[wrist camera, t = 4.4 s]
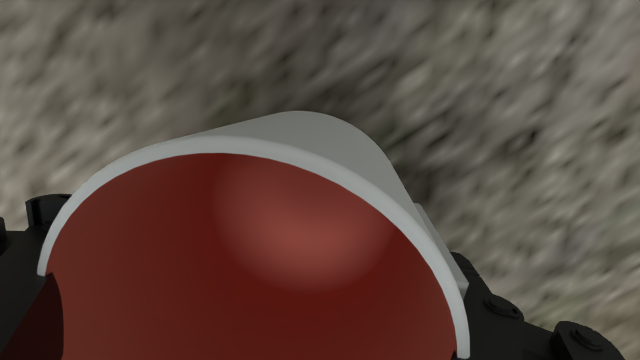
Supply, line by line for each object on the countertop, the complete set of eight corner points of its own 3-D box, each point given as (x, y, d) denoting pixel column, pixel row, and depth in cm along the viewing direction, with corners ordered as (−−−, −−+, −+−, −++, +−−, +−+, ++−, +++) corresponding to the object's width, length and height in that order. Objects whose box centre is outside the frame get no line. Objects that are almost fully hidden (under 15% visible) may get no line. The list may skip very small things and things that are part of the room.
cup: (416, 121, 14) (539, 173, 5) (382, 294, 17) (419, 540, 8) (217, 98, 15) (-11, 106, 6) (216, 269, 18) (63, 466, 8)
